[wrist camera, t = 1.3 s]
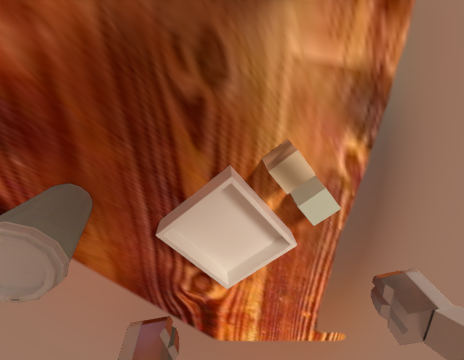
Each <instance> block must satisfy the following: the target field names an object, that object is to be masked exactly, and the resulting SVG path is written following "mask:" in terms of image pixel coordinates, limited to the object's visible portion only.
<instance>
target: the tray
mask: <svg viewBox="0 0 464 360" xmlns="http://www.w3.org/2000/svg"><path fill="white" fill-rule="evenodd" d="M156 236H157V237H158V238H160V239H161V240H162V241H164V242H165V243H166V244H168V245H169V246H170V247H172V248H173V249H174V250H176V251H177V252H178V253H180V254H181V255H182V256H184V257H185V258H186V259H188V260H189V261H190V262H192V263H193V264H194V265H196V266H197V267H198V268H200V269H201V270H202V271H204V272H205V273H206V274H208V275H209V276H210V277H212V278H213V279H214V280H216V281H217V282H218V283H220V284H221V285H222V286H224V287H225V288H226V289H228V288H230V287H231V286H233V285H235V284H236V283H238V282H239V281H241V280H243V279H244V278H246V277H247V276H249V275H251V274H252V273H254V272H255V271H257V270H259V269H260V268H262V267H263V266H265V265H266V264H268V263H270V262H271V261H273V260H274V259H276V258H278V257H279V256H281V255H282V254H284V253H286V252H287V251H289V250H290V249H292V248H294V247H295V246H297V244H296V241H295V239H294V237H293V235H292V233H291V230H290V229H289V228H288V227H287V226H286V225H285V224H284V223H283V222H282V221H281V220H280V219H279V217H278V216H277V215H276V214H275V213H274V212H273V211H272V210H271V209H270V208H269V207H268V206H267V204H266V203H265V202H264V201H263V200H262V199H261V198H260V197H259V196H258V195H257V194H256V193H255V191H254V190H253V189H252V188H251V187H250V186H249V185H248V184H247V183H246V182H245V181H244V180H243V179H242V177H241V176H240V175H239V174H238V173H237V172H236V171H235V170H234V169H233V168H232V167H231V166H228V167H227V168H226V169H225V170H223V171H222V172H221V173H219V174H218V175H217V176H216V177H214V178H213V179H212V180H211V181H209V182H208V183H207V184H206V185H204V186H203V187H202V188H200V189H199V190H198V191H197V192H195V193H194V194H193V195H192V196H190V197H189V198H188V199H187V200H185V201H184V202H183V203H181V204H180V205H179V206H178V207H176V208H175V209H174V210H173V211H171V212H170V213H169V214H168V215H166V216H165V217H164V218H162V219H161V220H160V223H159V226H158V229H157V232H156Z"/></svg>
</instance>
